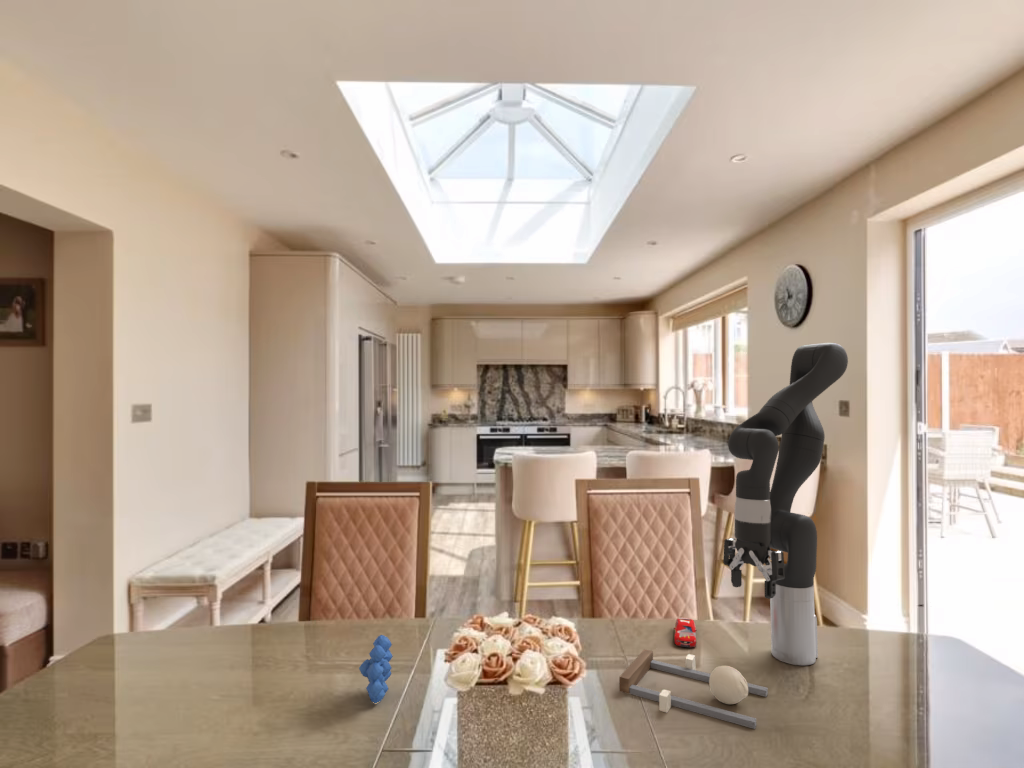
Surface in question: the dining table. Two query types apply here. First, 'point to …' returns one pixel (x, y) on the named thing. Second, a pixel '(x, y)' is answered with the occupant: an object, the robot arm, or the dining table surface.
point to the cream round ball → (728, 685)
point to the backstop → (635, 671)
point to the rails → (697, 706)
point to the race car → (685, 632)
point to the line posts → (666, 695)
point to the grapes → (378, 668)
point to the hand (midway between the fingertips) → (752, 592)
